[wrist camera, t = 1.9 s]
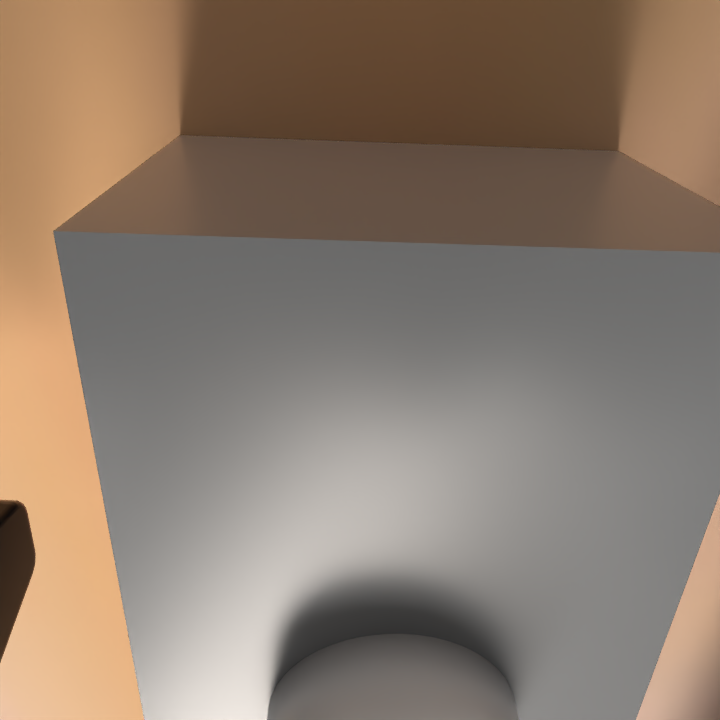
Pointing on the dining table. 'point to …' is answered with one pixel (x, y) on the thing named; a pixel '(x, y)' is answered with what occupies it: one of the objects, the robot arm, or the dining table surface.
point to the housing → (398, 424)
